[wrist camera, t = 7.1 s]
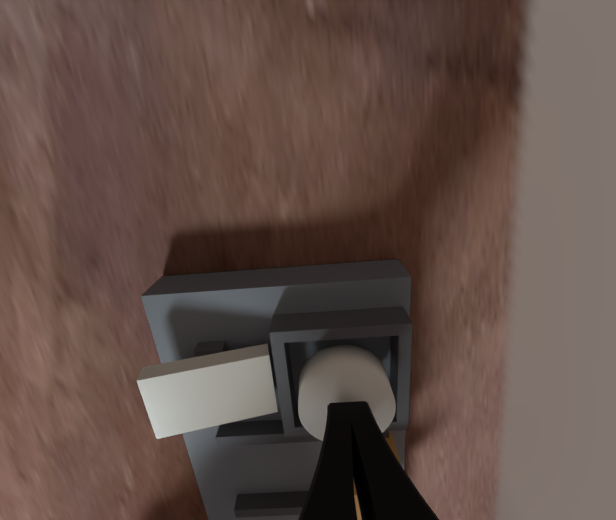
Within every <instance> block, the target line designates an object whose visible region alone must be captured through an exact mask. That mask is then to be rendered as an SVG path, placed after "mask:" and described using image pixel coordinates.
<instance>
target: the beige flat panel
mask: <svg viewBox="0 0 616 520" xmlns="http://www.w3.org/2000/svg"><path fill="white" fill-rule="evenodd" d="M137 384H138V386H139V389H140V392H141V395H142V398H143V401H144V404H145V407H146V410H147V413H148V416H149V418H150V421H151V424H152V427H153V430H154V433H155V436H156V439H159V438H164V437H168V436H173V435H177V434H182V433H186V432H191V431H195V430H199V429H204V428H208V427H213V426H217V425H222V424H226V423H231V422H235V421H240V420H244V419H248V418H253V417H257V416H262V415H266V414H271V413H275V412H278V410H277V404H276V397H275V390H274V384H273V377H272V370H271V364H270V357H269V351H268V344H262V345H257V346H252V347H246V348H241V349H236V350H230V351H225V352H220V353H214V354H209V355H204V356H199V357H193V358H188V359H183V360H177V361H172V362H167V363H161V364H156V365H151V366H146V367H142V369H141V372H140V374H139V376H138V379H137Z"/></svg>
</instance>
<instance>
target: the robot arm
mask: <svg viewBox="0 0 616 520" xmlns="http://www.w3.org/2000/svg"><path fill="white" fill-rule="evenodd" d="M353 477H354V478H353ZM354 483H355V488H356V493H357V498H358V503H359V508H360V513H361V518H362V520H439V519H438V518H437V516H436V515H435V514H434V512H433V511H432V510H431V508H430V507H429V506H428V504H427V503H426V501H425V500H424V499H423V497H422V496H421V495H420V493H419V492H418V490H417V489H416V487H415V486H414V484H413V483H412V481H411V480H410V478H409V477H408V475H407V474H406V472H405V471H404V469H403V468H402V466H401V465H400V463H399V461H398V460H397V458H396V456H395V455H394V453H393V451H392V450H391V448H390V446H389V445H388V443H387V441H386V439H385V438H384V436H383V434H382V432H381V430H380V428H379V426H378V424H377V422H376V420H375V418H374V416H373V414H372V411H371V409H370V406H369V404H368V403H367V402H366V401H356V402H338V403H330V404H329V405H328V406H327V421H326V428H325V433H324V438H323V443H322V447H321V451H320V455H319V459H318V463H317V466H316V469H315V473H314V476H313V479H312V482H311V486H310V489H309V492H308V495H307V497H306V500H305V503H304V506H303V509H302V511H301V514H300V516H299V519H298V520H357V513H356V505H355V498H354Z"/></svg>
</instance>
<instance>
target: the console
mask: <svg viewBox="0 0 616 520" xmlns="http://www.w3.org/2000/svg"><path fill="white" fill-rule="evenodd" d="M141 298H142V302H143V305H144V308H145V311H146V315H147V318H148V321H149V325H150V328H151V331H152V335H153V338H154V341H155V345H156V348H157V351H158V355H159V358H160V361H161V363H167V362H172V361H177V360H183V359H188V358H193V357H199V356H204V355H209V354H214V353H220V352H225V351H230V350H236V349H241V348H246V347H252V346H257V345H262V344H268V351H269V357H270V364H271V370H272V377H273V384H274V390H275V397H276V404H277V410H278V412H275V413H271V414H266V415H262V416H257V417H253V418H248V419H244V420H240V421H235V422H231V423H226V424H222V425H217V426H213V427H208V428H204V429H199V430H195V431H191V432H186V433H182V434H183V437H184V441H185V444H186V447H187V451H188V454H189V457H190V460H191V464H192V467H193V470H194V474H195V477H196V480H197V484H198V487H199V490H200V494H201V497H202V500H203V503H204V507H205V510H206V513H207V517H208V520H298V519H299V516H300V514H301V511H302V509H303V506H304V503H305V500H306V497H307V495H308V492H309V489H310V486H311V482H312V479H313V476H314V473H315V469H316V466H317V463H318V459H319V455H320V451H321V447H322V443H323V441H321V440H319V439H317V438H315V437H314V436H312V435H311V434H310V433H309V432H308V431H307V430H306V429H305V428H304V427H303V425H302V423H301V421H300V418H299V414H298V397H299V378H300V373H301V370H302V368H303V366H304V364H305V363H306V361H307V360H308V359H309V358H310V357H311V356H312V355H314V354H315V353H317V352H318V351H320V350H322V349H324V348H327V347H330V346H335V345H354V346H358V347H361V348H364V349H366V350H368V351H370V352H372V353H373V354H374V355H376V356H377V357H378V358H379V360H380V361H381V362H382V364H383V365H384V368H385V370H386V373H387V377H388V380H389V383H390V386H391V389H392V392H393V395H394V398H395V403H396V410H395V415H394V418H393V420H392V422H391V424H390V425H389V427H388V428H387V429H386V430H385V431H384V432H383V433H382V434H383V436H384V438H389V431H391V432H392V435H393V439H394V442H395V446H396V450H397V453H398V457H399V461H400V464H401V466H402V468H403V469H404V461H405V434H406V430H408V420H409V396H410V372H411V348H412V324H413V323H412V321H411V320H410V303H411V275H410V274H409V273H408V271H407V270H406V269H405V267H404V266H403V265H402V263H401V262H400V260H399V259H391V260H378V261H364V262H350V263H337V264H323V265H309V266H295V267H282V268H268V269H254V270H241V271H227V272H213V273H200V274H186V275H172V276H162V277H161V278H160V279H159V280H158V281H156V282H155V283H154V284H153V285H152V286H151V287H150V288H149V289H148V290H147V291H146V292H145V293H144V294H142V295H141Z"/></svg>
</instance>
